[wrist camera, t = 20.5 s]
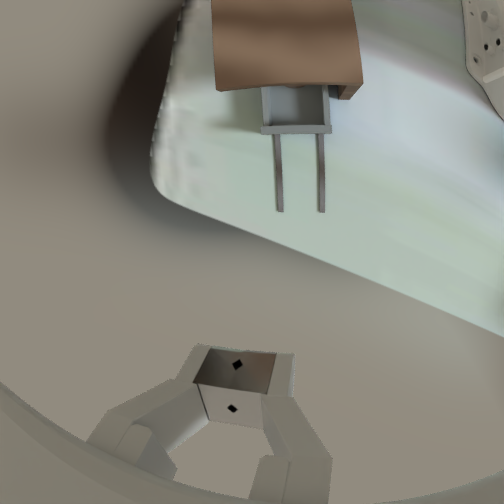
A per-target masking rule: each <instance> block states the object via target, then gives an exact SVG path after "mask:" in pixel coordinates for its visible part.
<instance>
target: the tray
mask: <svg viewBox="0 0 504 504" xmlns="http://www.w3.org/2000/svg"><path fill="white" fill-rule="evenodd" d="M261 95H262V109H263V124H264V127H261V134H262V135H276V134H331V133H332V125H330V108H329V94H328V85H305V86H304V87H301V88H296V89H293V88H288V87H286V86H269V87H261Z"/></svg>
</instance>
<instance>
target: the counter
mask: <svg viewBox="0 0 504 504" xmlns="http://www.w3.org/2000/svg"><path fill="white" fill-rule="evenodd" d="M211 8H212V30H213V49H214V66H215V83H216V90H218V91H220V92H223V91H230V90H238V89H247V88H257V87H269V86H286V85H338V96H339V99H341V100H349V99H350V98H351V97H352V96H353V95H354V94H355V93H356V91H357V90H358V89H359V88H360V87H361V86H362V85H363V74H362V65H361V57H360V49H359V42H358V36H357V30H356V24H355V18H354V13H353V8H352V3H351V0H211ZM318 141H319V173H320V212H322V213H325V165H324V135H323V134H318ZM275 152H276V170H277V191H278V212H284V211H283V185H282V164H281V145H280V134H276V135H275Z"/></svg>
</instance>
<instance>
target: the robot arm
mask: <svg viewBox="0 0 504 504" xmlns="http://www.w3.org/2000/svg"><path fill="white" fill-rule="evenodd" d="M462 6H463V14H464V25H465V40H466V67H467V70H468V71H469V73H470V74H471V75H472V76H473V78H474V79H475V80H476V81H477V82H478V83H479V84H480V85H481V86H482V87H483V88H484V90H485V92H486V94H487V95H488V97H489V99H490V101H491V103H492V105H493V106H494V108H495V109H496V111H497V112H498V114H499V115H500V116H501V118H502V119H503V120H504V0H462ZM474 59H475V60H476V62H475V61H474ZM294 373H295V354H294V353H275V352H261V351H250V350H240V349H232V348H225V347H219V346H210V345H204V344H197V345H195V346H194V347H193V349H192V351H191V352H190V354H189V356H188V358H187V359H186V361H185V363H184V364H183V366H182V368H181V370H180V371H179V373H178V375H177V376H176V378H175V379H169V380H167V381H165V382H163V383H161V384H159V385H158V386H155V387H154V388H152V389H150V390H148V391H147V392H144V393H142V394H140V395H138V396H136V397H134V398H132V399H130V400H128V401H126V402H124V403H122V404H120V405H118V406H116V407H114V408H112V409H110V410H108V411H107V412H106V414H105V415H104V416H103V418H102V419H101V421H100V422H99V423H98V425H97V426H96V428H95V429H94V431H93V432H92V433H91V435H90V436H89V438H88V439H87V441H86V442H85V441H83V440H81V439H79V438H78V437H76V436H74V435H73V434H71V433H69V432H68V431H66V430H64V429H63V428H61V427H60V426H58V425H57V424H55V423H54V422H52V421H51V420H49V419H48V418H46V417H45V416H43V415H42V414H41V413H39V412H38V411H36V410H35V409H34V408H33V407H31V406H30V405H28V404H27V403H26V402H25V401H23V400H22V399H21V398H20V397H18V396H17V395H16V394H15V393H14V392H12V391H11V390H10V389H9V388H8V387H7V386H5V385H4V384H3V383H2V382H1V381H0V504H328V499H329V491H330V481H331V471H332V457H331V455H330V454H329V452H328V451H327V449H326V448H325V446H324V445H323V443H322V441H321V440H320V438H319V437H318V435H317V434H316V432H315V431H314V429H313V428H312V426H311V424H310V423H309V421H308V420H307V418H306V417H305V415H304V413H303V412H302V410H301V409H300V407H299V405H298V404H297V402H296V401H295V399H294V397H293V386H294ZM209 421H214V422H220V423H227V424H233V425H239V426H245V427H250V428H257V429H263V430H264V433H265V435H266V438H267V440H268V442H269V445H270V447H271V449H272V451H273V454H274V456H272V455H265V456H264V457H262V458H260V460H259V464H258V467H257V471H256V475H255V478H254V481H253V485H252V488H251V491H250V495H249V498H248V499H244V498H239V497H234V496H229V495H224V494H220V493H215V492H211V491H207V490H203V489H200V488H196V487H192V486H188V485H186V484H182V483H179V482H176V481H173V478H174V476H175V473H176V471H177V467H176V465H175V464H174V463H173V461H172V460H171V458H170V457H169V456H168V454H167V453H168V452H170V451H172V450H173V449H174V448H176V447H177V446H179V445H180V444H181V443H183V442H184V441H185V440H186V439H188V438H189V437H190V436H192V435H193V434H194V433H196V432H197V431H198V430H200V429H201V428H202V427H203V426H205V425H206V424H207V423H208V422H209ZM375 504H504V470H502V471H500V472H498V473H496V474H493V475H491V476H488V477H485V478H483V479H480V480H477V481H475V482H472V483H469V484H466V485H463V486H460V487H456V488H453V489H449V490H446V491H442V492H438V493H434V494H430V495H425V496H421V497H416V498H410V499H405V500H399V501H392V502H384V503H375Z"/></svg>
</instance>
